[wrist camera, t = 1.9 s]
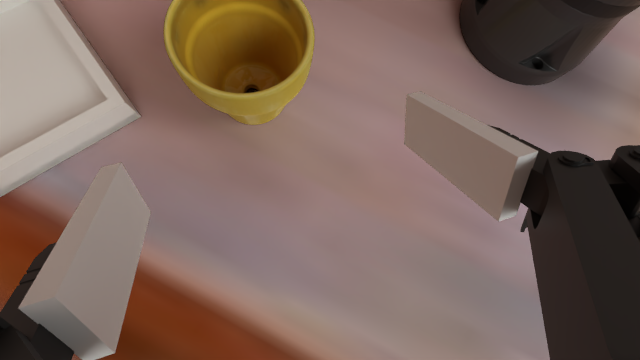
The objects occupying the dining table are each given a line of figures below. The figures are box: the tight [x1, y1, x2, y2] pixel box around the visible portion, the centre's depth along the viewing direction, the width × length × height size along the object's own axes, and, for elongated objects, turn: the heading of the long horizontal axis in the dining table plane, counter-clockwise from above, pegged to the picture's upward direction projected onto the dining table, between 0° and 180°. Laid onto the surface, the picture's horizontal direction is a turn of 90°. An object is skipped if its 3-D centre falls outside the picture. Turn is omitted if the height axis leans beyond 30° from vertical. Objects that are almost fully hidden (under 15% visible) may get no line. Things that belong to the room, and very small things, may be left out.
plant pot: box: [164, 0, 314, 125], centre depth 25 cm, size 10×10×10 cm
